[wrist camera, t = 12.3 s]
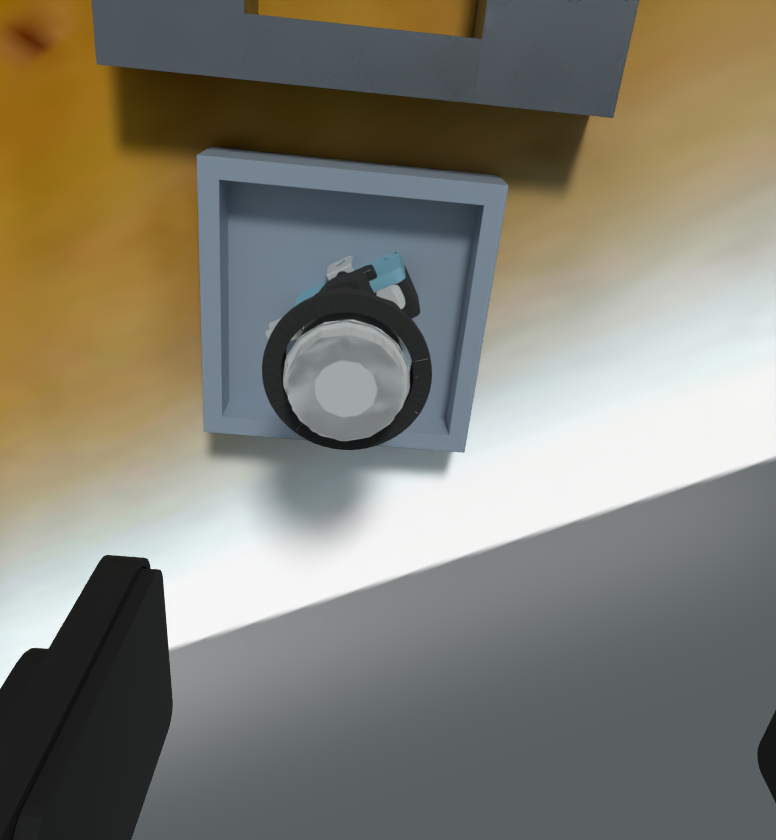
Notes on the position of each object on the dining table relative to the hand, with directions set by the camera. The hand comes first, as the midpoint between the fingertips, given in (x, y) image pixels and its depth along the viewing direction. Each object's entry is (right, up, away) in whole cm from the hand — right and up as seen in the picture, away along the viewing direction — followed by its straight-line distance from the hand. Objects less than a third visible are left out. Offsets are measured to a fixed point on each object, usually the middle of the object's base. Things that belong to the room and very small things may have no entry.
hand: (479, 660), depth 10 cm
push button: (-3, +9, +20) cm, 22 cm away
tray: (-3, +9, +21) cm, 23 cm away
